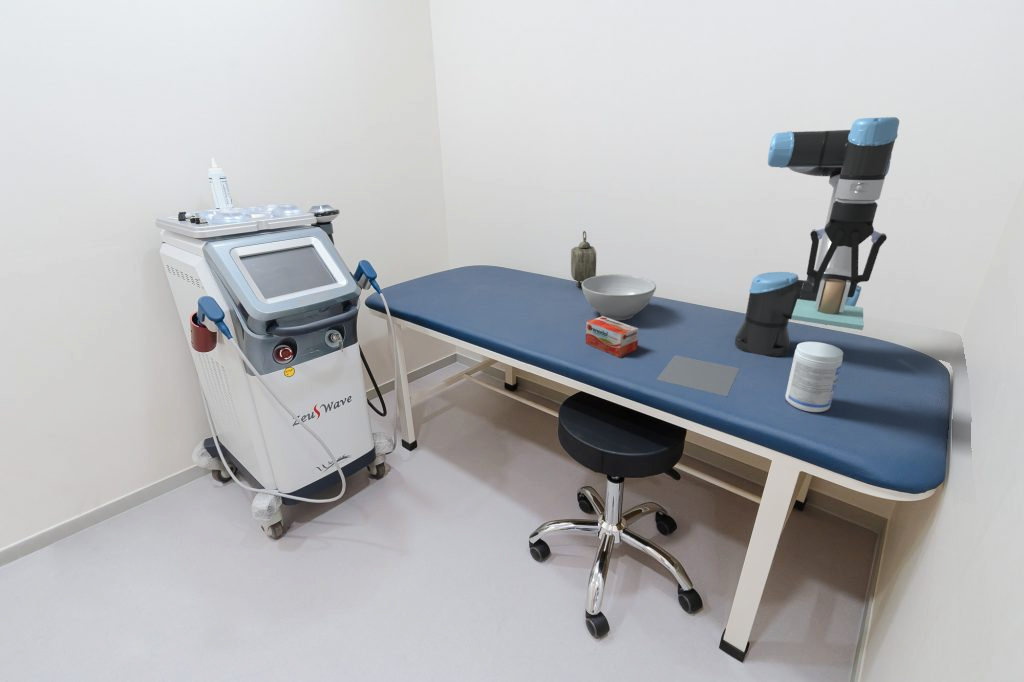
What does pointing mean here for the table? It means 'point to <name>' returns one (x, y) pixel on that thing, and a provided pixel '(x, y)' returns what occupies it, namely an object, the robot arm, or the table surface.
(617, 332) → the medicine box
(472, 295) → the table surface
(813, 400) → the supplement tub
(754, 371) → the table surface
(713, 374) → the mat
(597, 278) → the decorative bowl
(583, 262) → the grey hanging weight
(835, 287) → the lid
